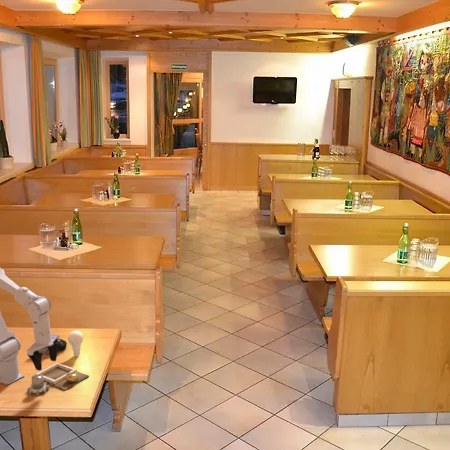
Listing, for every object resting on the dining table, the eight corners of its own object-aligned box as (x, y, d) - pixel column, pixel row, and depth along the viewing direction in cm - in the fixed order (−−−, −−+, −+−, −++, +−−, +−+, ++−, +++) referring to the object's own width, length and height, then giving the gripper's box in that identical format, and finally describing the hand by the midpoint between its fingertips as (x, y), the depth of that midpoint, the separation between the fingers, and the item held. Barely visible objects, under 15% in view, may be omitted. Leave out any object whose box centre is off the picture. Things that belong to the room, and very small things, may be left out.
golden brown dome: (64, 381, 216) (63, 375, 216) (72, 376, 220) (72, 370, 219) (72, 384, 214) (71, 378, 214) (80, 379, 218) (80, 373, 217)
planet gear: (23, 392, 210) (21, 378, 209) (40, 383, 217) (38, 370, 215) (37, 398, 206) (35, 384, 205) (53, 388, 213) (52, 375, 211)
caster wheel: (68, 351, 248) (57, 359, 238) (44, 344, 249) (32, 351, 240) (71, 337, 247) (60, 344, 237) (47, 330, 249) (35, 336, 239)
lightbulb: (69, 360, 235) (67, 335, 232) (69, 353, 240) (67, 329, 238) (84, 357, 236) (82, 333, 233) (84, 351, 242) (82, 327, 239)
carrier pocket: (35, 376, 220) (35, 374, 220) (57, 365, 229) (57, 362, 229) (54, 384, 215) (54, 381, 214) (76, 372, 223) (76, 369, 223)
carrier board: (33, 378, 220) (33, 377, 220) (58, 365, 230) (58, 364, 230) (64, 390, 211) (64, 389, 211) (89, 376, 221) (88, 375, 221)
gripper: (35, 340, 199) (40, 376, 202) (64, 324, 211) (68, 358, 215) (20, 337, 202) (25, 372, 205) (49, 322, 214) (53, 355, 218)
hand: (46, 365), depth 210 cm, fingers open, 7 cm apart
